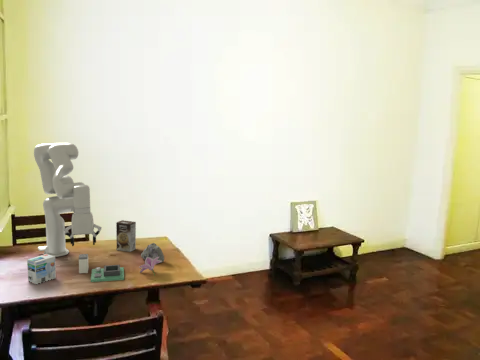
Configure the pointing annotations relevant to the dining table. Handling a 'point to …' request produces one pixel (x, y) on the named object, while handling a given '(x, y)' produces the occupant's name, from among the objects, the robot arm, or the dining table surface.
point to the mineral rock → (153, 252)
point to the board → (107, 273)
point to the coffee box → (126, 235)
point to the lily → (149, 264)
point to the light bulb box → (41, 268)
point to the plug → (83, 263)
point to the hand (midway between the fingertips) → (83, 244)
